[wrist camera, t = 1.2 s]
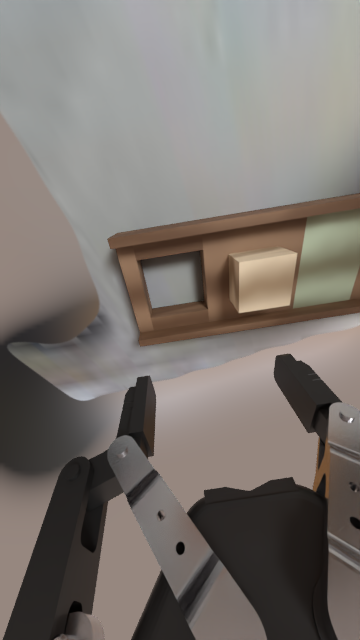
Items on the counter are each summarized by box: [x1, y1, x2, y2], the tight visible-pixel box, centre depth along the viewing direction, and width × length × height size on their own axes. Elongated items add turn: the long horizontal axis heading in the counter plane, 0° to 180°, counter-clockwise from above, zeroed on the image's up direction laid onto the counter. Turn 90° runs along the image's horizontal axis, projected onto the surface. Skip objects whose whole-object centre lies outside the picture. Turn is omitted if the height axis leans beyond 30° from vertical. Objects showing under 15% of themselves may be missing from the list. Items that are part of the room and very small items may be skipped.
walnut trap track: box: [108, 193, 360, 347], centre depth 26 cm, size 14×42×5 cm, turn 98°
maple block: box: [229, 246, 297, 313], centre depth 24 cm, size 6×6×4 cm
